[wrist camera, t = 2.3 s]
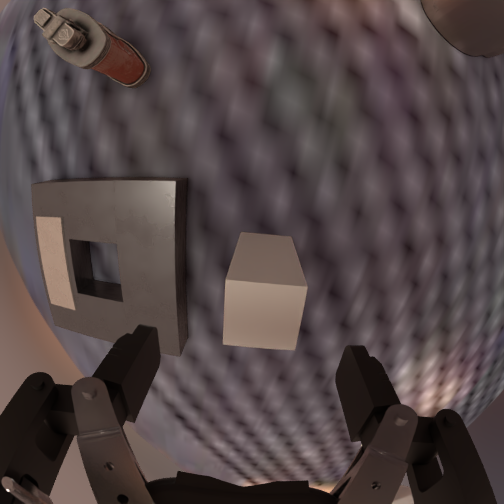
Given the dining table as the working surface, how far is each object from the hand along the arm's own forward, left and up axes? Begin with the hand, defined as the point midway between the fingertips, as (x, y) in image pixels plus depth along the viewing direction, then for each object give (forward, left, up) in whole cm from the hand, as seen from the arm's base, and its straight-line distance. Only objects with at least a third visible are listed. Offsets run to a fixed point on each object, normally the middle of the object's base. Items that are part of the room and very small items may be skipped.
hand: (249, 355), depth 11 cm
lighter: (+13, -17, -12) cm, 25 cm away
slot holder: (+13, +2, -12) cm, 18 cm away
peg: (-1, 0, -12) cm, 12 cm away
